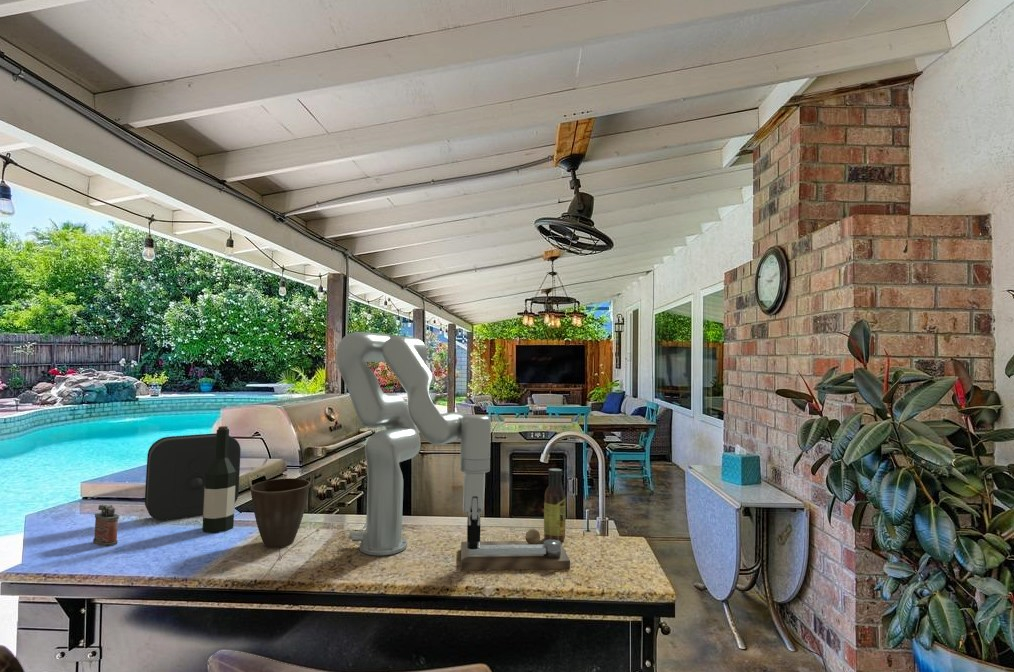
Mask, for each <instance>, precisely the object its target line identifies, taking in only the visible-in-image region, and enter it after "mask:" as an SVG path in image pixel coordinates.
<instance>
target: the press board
mask: <svg viewBox="0 0 1014 672" xmlns="http://www.w3.org/2000/svg"><path fill="white" fill-rule="evenodd" d="M544 541H545V540H541V534H540V532H539V531H538V530H537V529H535V528H531V529H528V530H527V532H526V533H525V540H497V541H496V540H493V541H488V540H487V541H485V540H482V541H481V540H480V545H539V544H544ZM460 542H461V543H460V571H461V572H463V571H466V572H467V571H470V570H474V571H488V570H487V569H532V570H571V559H570V558H569V556H568V554H567V552H566V551H565V549H564V547H563V545H562V544H561V556H560V557H557V558H549V557H546V556H544V555H543V554H508V555H469V549H468V548H467V541H460Z"/></svg>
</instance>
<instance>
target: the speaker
mask: <svg viewBox="0 0 1014 672" xmlns="http://www.w3.org/2000/svg"><path fill="white" fill-rule="evenodd" d="M216 433H217V432H215V433H202V434H189V435H188V434H187V435H184V434H183V435H173V436H164V437H161V438H159V439H157V440H156V441H155V442H153V443H152V445H151V446H150V447H149V449H148V451H147V455H146V472H145V474H146V475H145V491H144V492H145V493H144V495H145V496H144V505H145V508H146V510H147V513H148V514H149V516H150V517H151V518H153V519H154V520H156V521H159V522H168V521H174V520H175V521H177V520H182V519H188V518H193V517H201V516H203V508H204V489H205V472H206V471H207V469H208V468H209V466H210V465H211V463H212V462H213V460H214V459H215V453H216ZM241 450H242V449H241V445H240V443H239V441H238V440H237V439H235V438H234V437H232V436H230V435H229V443H228V459H229V460H230V462H231V464H232V465H233V467H234V469H235V470H236V483H235V503H236V502H237V500H238V498H239V490H240V489H239V488H240V476H241V475H240V474H241V473H240V469H241V467H240V466H241Z"/></svg>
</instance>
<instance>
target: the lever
mask: <svg viewBox="0 0 1014 672" xmlns="http://www.w3.org/2000/svg"><path fill="white" fill-rule="evenodd" d="M471 517H472V515H471ZM477 517H478V515H477ZM467 520H468V524H466V526H468V525H469V515H467ZM543 541H544V544H539V545H480V542H468V541H467V540H466V542H467V548H468V549H469V555H508V554H543V555H544V556H546V557H549V558H557V557H560V556H561V545H562V541H558V540H553V539H549V540H546V539H545V540H543Z"/></svg>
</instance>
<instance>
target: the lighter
mask: <svg viewBox="0 0 1014 672" xmlns="http://www.w3.org/2000/svg"><path fill="white" fill-rule="evenodd" d="M115 509H116V508H115V507H113V505H112V504H110V505H108V504H99V505H98V510H99V511H100V512H98V513H95V514H94V518H95V521H94V524H95V525H94V538H93V540H92V543H93V544H95V545H97V546H100V547H106V548H109V547H114V546H117V545H118V525H119V524H118V523H119V519H120V515H119V514H117V513H115V512H116V510H115Z"/></svg>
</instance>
